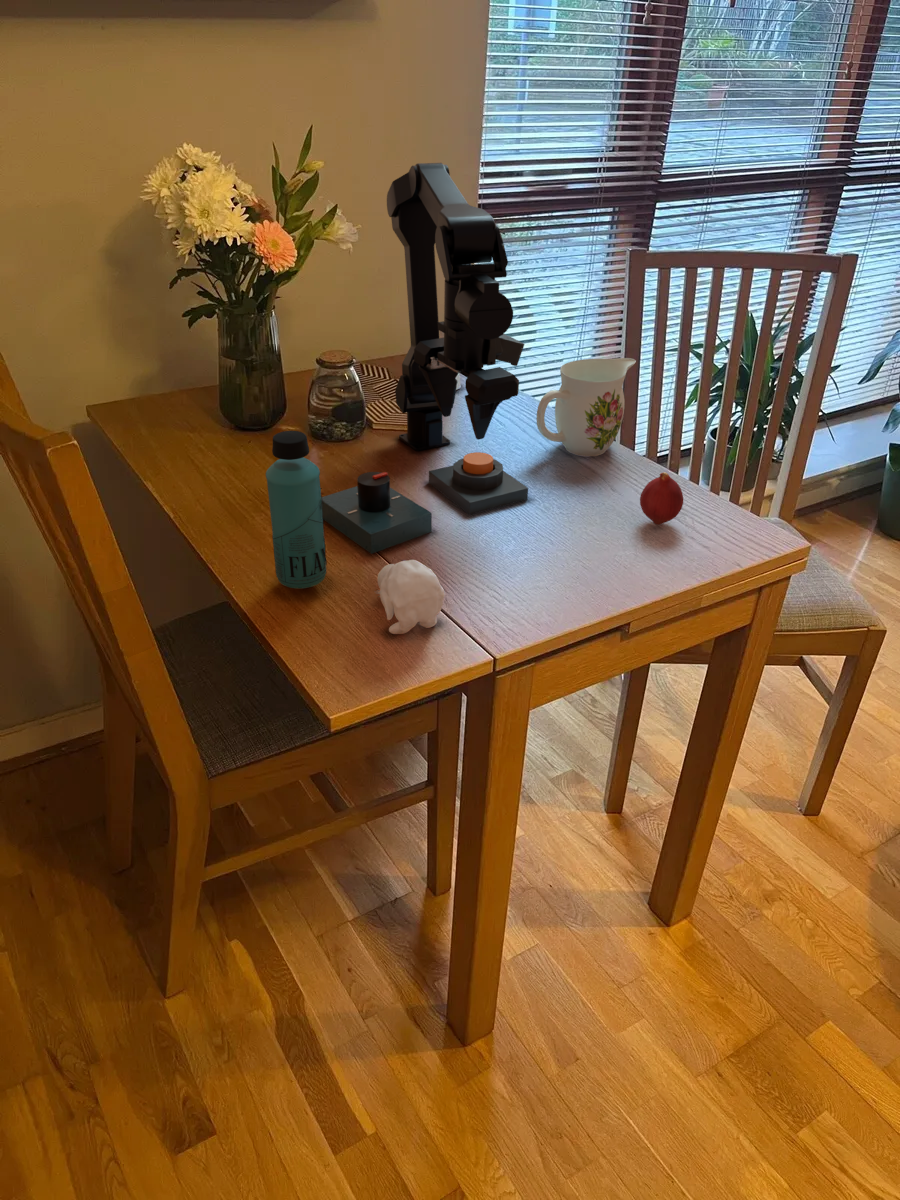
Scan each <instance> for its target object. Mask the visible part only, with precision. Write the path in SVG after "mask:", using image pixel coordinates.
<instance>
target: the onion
mask: <svg viewBox="0 0 900 1200" xmlns="http://www.w3.org/2000/svg"><path fill="white" fill-rule="evenodd" d="M639 505H640V508H641V510H642V513H643V514H644V515H645V516H646V517H647V518H648V519H649V520H650V521H652V523H653V524H654V525H656V526H660V525H663V524H664V523H668V522H669V521H670V522H671V521H672V520H673V519H675V518H676V517H677V516H678V515H679V513H680V512H681V511H682V508H683V505H684V494H683V491H682V488H681V486H680V485H679V484H678V482H677V481H676V480H674V479H673V478H672V477H671V476H670V474H669V473H667V472H665V471H663V472H660V473H659V477H655V478H653V479H652V480H651V481H649V482H648V483H646V485H645V486H644V488H643V490H642V491H641V493H640V497H639Z"/></svg>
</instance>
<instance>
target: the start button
mask: <svg viewBox="0 0 900 1200" xmlns="http://www.w3.org/2000/svg"><path fill="white" fill-rule="evenodd" d="M462 459H463V470H464V471H465V472H468V473H472V474H487V473H491V472H492V471H493V459H494V457H493V456H492V455H491V454H489V453H486V452H481V451H477V452H469V453H466V454H465V455H464V456H463V458H462Z"/></svg>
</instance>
